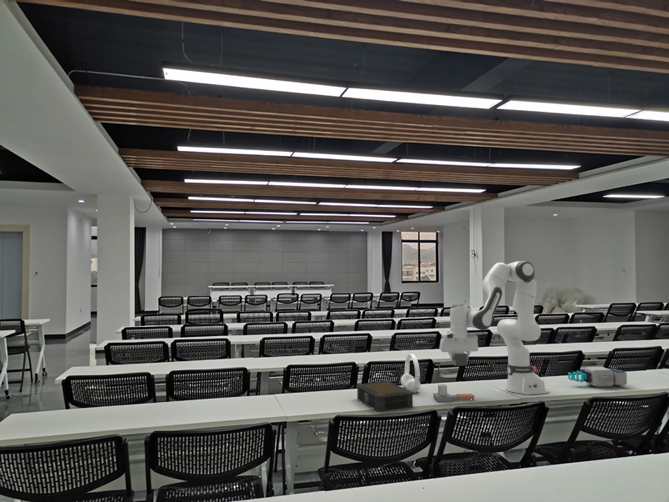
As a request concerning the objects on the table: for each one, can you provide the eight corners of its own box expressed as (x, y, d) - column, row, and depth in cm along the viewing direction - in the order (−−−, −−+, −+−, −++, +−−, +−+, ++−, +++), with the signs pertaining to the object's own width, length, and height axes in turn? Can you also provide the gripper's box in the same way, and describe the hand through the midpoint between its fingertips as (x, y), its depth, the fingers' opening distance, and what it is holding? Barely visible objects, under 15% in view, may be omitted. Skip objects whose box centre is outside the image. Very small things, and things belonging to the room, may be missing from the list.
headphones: (423, 394, 248) (422, 356, 249) (409, 394, 247) (408, 357, 248) (411, 385, 268) (411, 350, 269) (398, 385, 267) (398, 351, 267)
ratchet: (470, 397, 242) (470, 382, 243) (475, 401, 235) (475, 386, 235) (433, 398, 241) (433, 383, 241) (437, 402, 233) (437, 387, 234)
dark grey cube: (463, 362, 251) (462, 351, 252) (467, 365, 245) (467, 354, 245) (451, 363, 251) (451, 352, 251) (455, 365, 244) (455, 354, 245)
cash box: (355, 399, 240) (354, 384, 241) (389, 395, 248) (389, 380, 248) (377, 412, 217) (376, 396, 218) (414, 407, 225) (413, 391, 225)
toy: (562, 365, 273) (611, 365, 274) (562, 382, 272) (612, 382, 273) (577, 371, 256) (630, 371, 257) (578, 390, 256) (630, 389, 257)
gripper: (475, 332, 252) (476, 358, 252) (438, 333, 251) (439, 359, 250) (479, 334, 246) (480, 360, 246) (442, 335, 245) (442, 361, 244)
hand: (459, 360), depth 248 cm, fingers closed on dark grey cube, 6 cm apart
